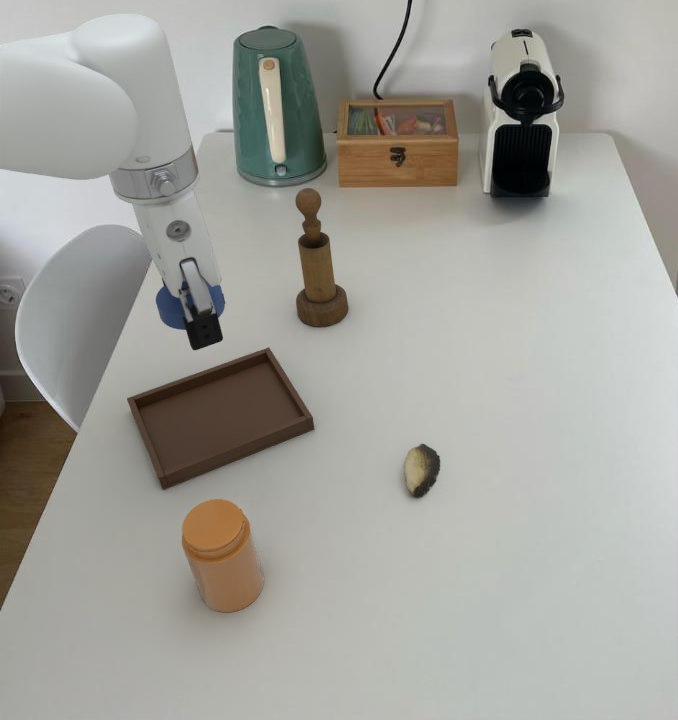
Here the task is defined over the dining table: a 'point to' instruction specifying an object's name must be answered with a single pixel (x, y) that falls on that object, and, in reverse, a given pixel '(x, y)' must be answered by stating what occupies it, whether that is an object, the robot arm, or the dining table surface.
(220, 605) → the jar
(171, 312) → the lid
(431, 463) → the nut kernel
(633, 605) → the dining table surface
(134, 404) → the tray
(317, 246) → the mortar and pestle
